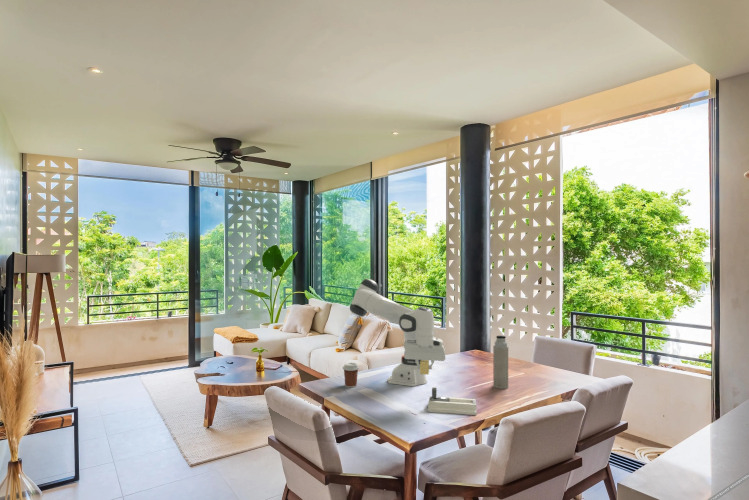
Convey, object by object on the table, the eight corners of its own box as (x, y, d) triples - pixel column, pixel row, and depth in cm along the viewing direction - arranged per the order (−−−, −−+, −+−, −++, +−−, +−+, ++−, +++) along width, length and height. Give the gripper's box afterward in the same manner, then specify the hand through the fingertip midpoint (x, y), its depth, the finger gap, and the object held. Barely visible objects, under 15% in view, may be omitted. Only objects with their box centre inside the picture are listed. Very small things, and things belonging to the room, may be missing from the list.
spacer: (420, 374, 215) (420, 361, 215) (421, 371, 219) (421, 359, 219) (428, 374, 214) (428, 362, 214) (429, 372, 218) (429, 360, 218)
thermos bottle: (491, 386, 244) (491, 336, 244) (497, 383, 250) (497, 334, 250) (504, 389, 239) (504, 338, 239) (510, 386, 245) (510, 335, 245)
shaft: (430, 405, 209) (430, 389, 209) (430, 402, 213) (430, 387, 213) (449, 406, 208) (449, 390, 208) (449, 403, 211) (449, 388, 211)
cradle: (428, 411, 205) (428, 403, 205) (429, 403, 217) (429, 394, 217) (476, 415, 201) (476, 406, 201) (475, 406, 213) (475, 397, 213)
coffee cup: (356, 382, 251) (356, 361, 251) (361, 387, 242) (361, 365, 243) (340, 384, 248) (340, 362, 248) (345, 389, 239) (345, 366, 239)
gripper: (402, 341, 215) (402, 369, 215) (445, 342, 211) (445, 371, 211) (404, 338, 222) (404, 366, 222) (445, 340, 218) (445, 368, 217)
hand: (424, 368), depth 216 cm, fingers closed on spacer, 4 cm apart
